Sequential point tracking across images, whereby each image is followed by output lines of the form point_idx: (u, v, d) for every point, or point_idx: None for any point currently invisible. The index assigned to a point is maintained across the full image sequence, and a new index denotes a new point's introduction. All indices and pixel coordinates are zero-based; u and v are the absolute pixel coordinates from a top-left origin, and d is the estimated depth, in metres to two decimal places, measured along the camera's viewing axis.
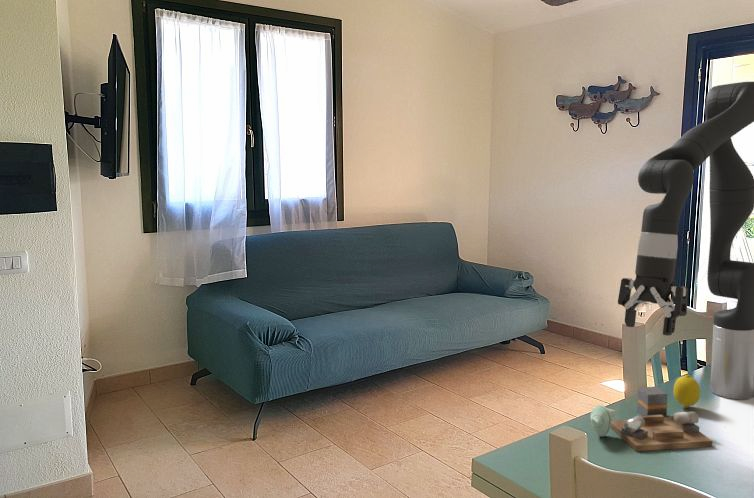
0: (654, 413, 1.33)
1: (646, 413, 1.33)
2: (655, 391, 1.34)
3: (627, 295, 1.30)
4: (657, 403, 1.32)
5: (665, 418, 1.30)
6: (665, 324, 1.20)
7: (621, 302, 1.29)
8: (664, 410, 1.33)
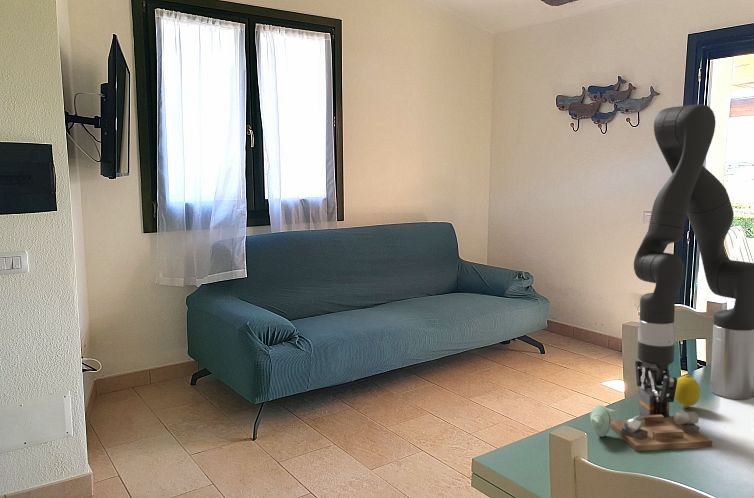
0: None
1: (648, 414, 1.32)
2: None
3: None
4: None
5: (665, 418, 1.30)
6: (656, 408, 1.31)
7: (638, 384, 1.38)
8: None
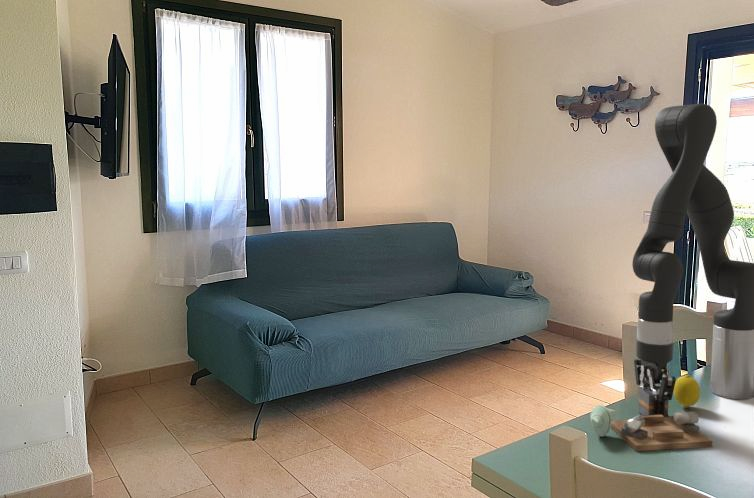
0: None
1: (647, 413, 1.33)
2: None
3: None
4: None
5: (665, 418, 1.30)
6: (654, 406, 1.32)
7: (638, 383, 1.38)
8: (665, 409, 1.32)
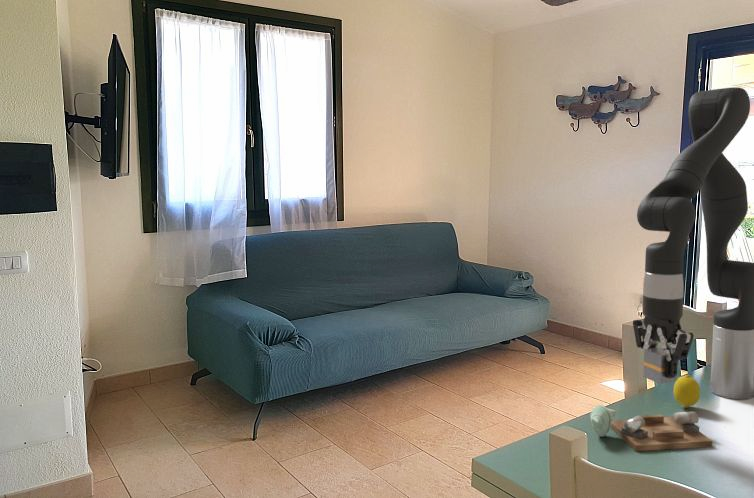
0: None
1: (658, 376, 1.21)
2: (664, 351, 1.22)
3: (645, 336, 1.27)
4: None
5: (665, 418, 1.30)
6: (666, 367, 1.20)
7: (639, 345, 1.26)
8: None
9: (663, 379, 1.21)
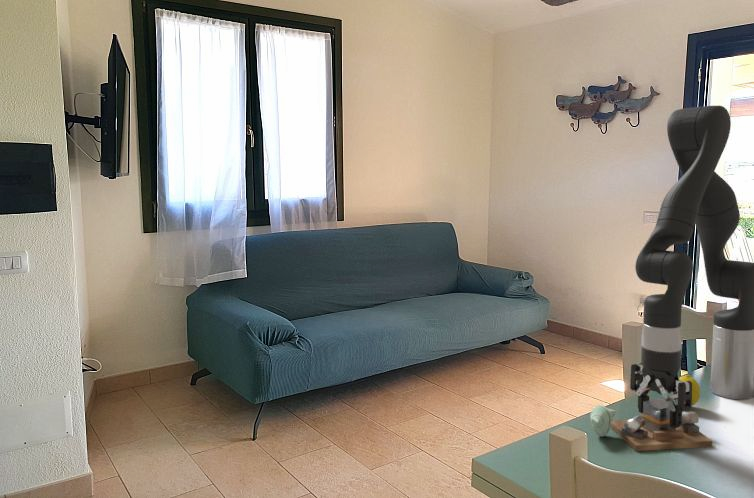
0: (665, 428, 1.22)
1: (658, 429, 1.22)
2: (663, 403, 1.24)
3: (640, 380, 1.30)
4: (668, 417, 1.22)
5: None
6: (671, 417, 1.20)
7: (633, 388, 1.29)
8: None
9: None
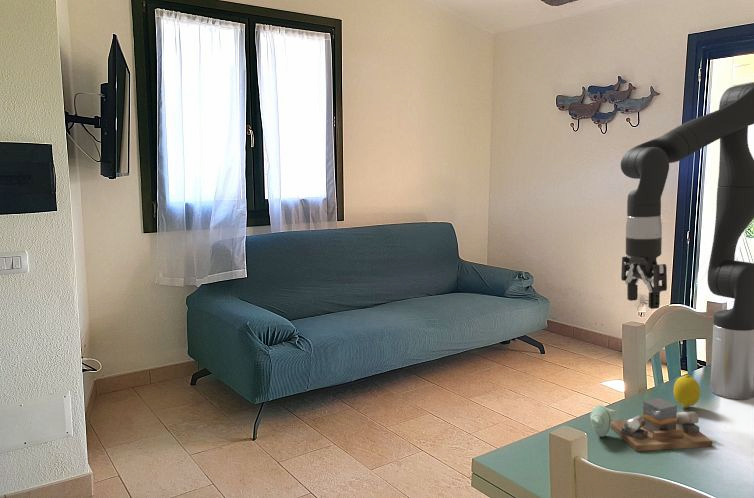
0: (665, 428, 1.22)
1: (658, 429, 1.22)
2: (663, 403, 1.24)
3: None
4: (668, 417, 1.22)
5: None
6: (649, 298, 1.32)
7: (623, 278, 1.42)
8: (674, 423, 1.23)
9: None
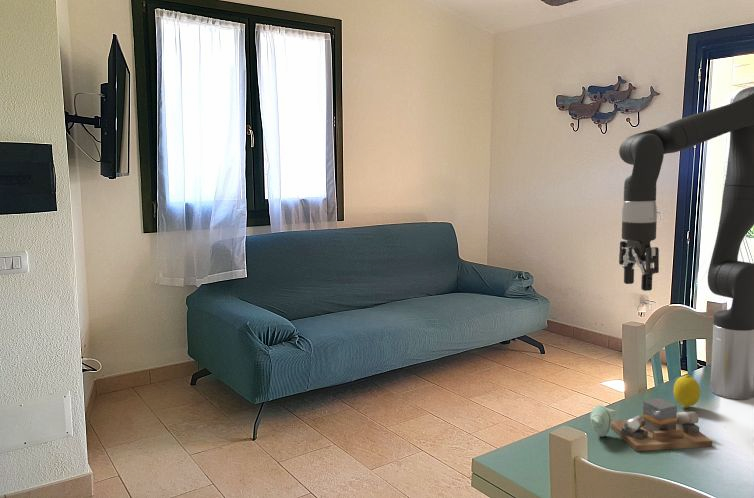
0: (665, 428, 1.22)
1: (658, 429, 1.22)
2: (663, 403, 1.24)
3: None
4: (668, 417, 1.22)
5: None
6: (642, 281, 1.37)
7: (620, 262, 1.47)
8: (674, 423, 1.23)
9: None
